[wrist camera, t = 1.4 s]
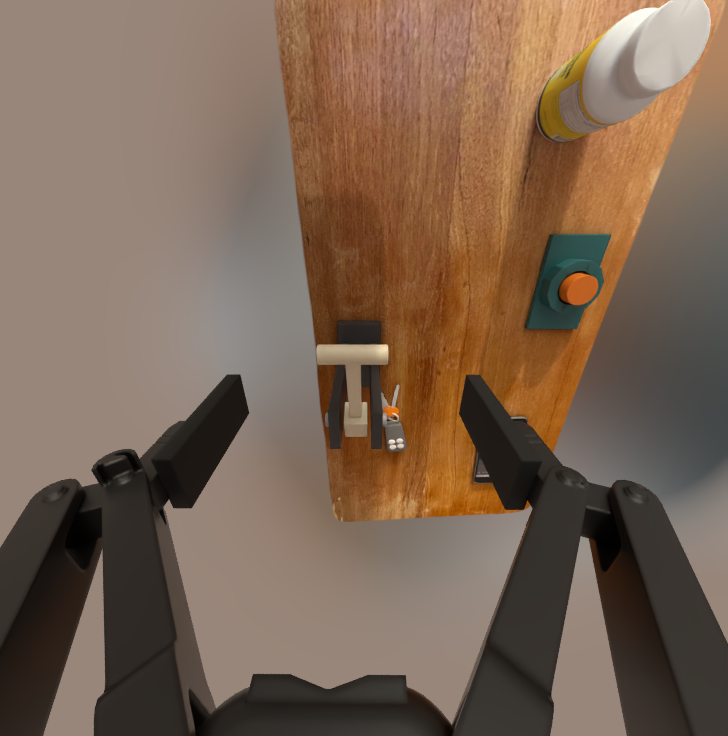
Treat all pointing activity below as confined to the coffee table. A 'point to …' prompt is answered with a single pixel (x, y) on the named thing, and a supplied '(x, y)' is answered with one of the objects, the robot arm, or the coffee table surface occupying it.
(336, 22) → the coffee table surface
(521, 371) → the coffee table surface
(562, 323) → the teal button base
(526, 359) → the coffee table surface
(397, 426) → the key chain
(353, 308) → the coffee table surface
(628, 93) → the pill bottle
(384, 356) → the switch lever
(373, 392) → the lever switch stand
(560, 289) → the button
